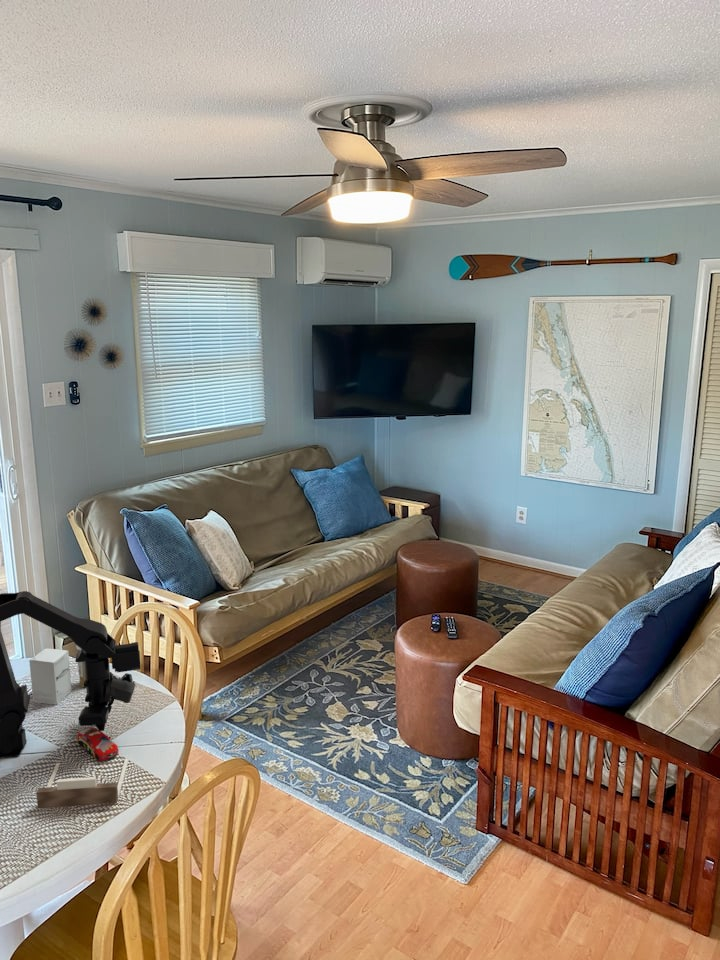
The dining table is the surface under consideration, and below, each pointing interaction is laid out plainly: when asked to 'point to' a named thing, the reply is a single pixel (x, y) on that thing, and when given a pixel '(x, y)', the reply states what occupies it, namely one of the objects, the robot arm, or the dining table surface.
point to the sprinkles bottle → (81, 669)
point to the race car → (97, 744)
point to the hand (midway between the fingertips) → (102, 730)
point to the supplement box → (50, 676)
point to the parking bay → (78, 791)
